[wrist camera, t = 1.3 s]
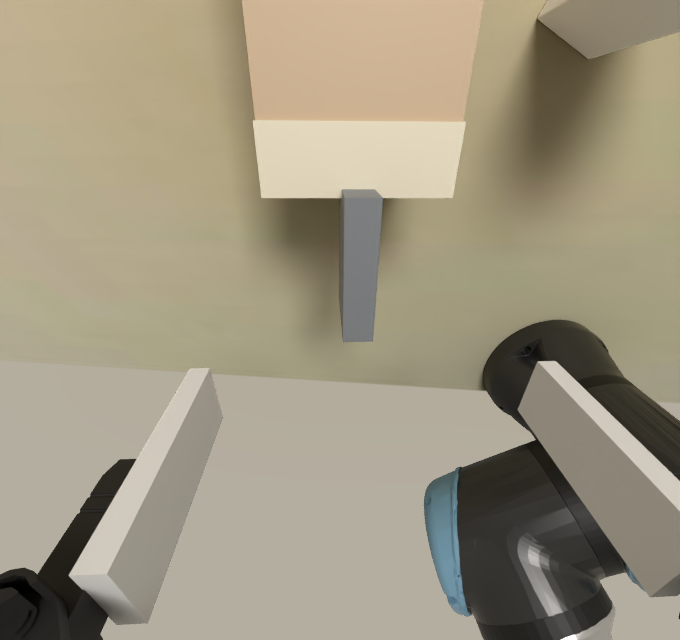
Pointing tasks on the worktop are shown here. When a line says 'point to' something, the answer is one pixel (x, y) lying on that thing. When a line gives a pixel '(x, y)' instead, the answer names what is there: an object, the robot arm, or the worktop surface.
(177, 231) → the worktop surface
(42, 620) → the robot arm
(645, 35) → the milk
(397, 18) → the flap
